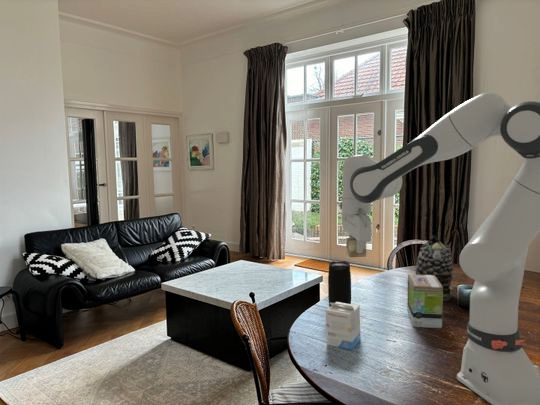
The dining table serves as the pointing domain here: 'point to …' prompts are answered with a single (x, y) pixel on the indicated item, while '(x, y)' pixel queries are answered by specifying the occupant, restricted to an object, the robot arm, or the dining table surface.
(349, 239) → the oak cube
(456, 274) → the dining table surface
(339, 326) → the ink box
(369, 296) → the dining table surface
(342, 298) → the portable speaker
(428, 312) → the tea box
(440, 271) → the pine cone
